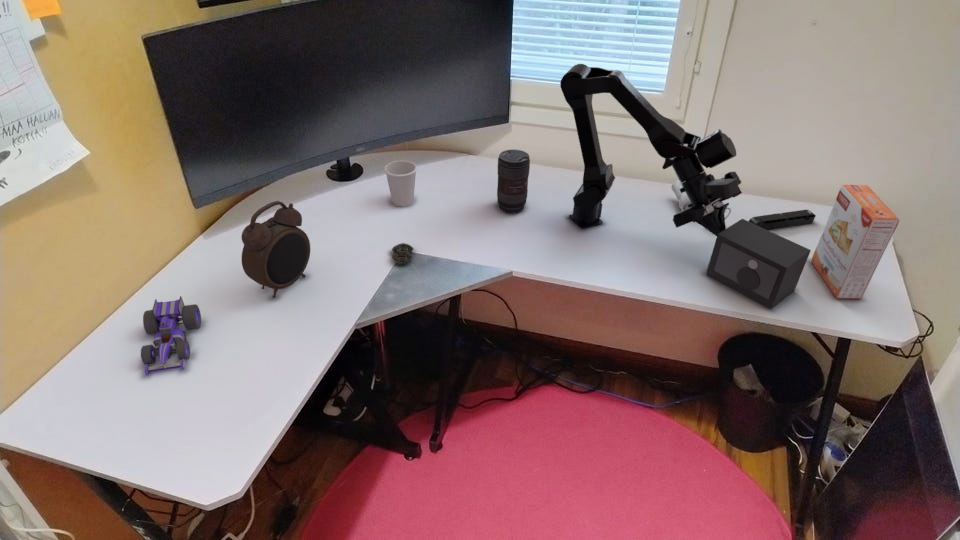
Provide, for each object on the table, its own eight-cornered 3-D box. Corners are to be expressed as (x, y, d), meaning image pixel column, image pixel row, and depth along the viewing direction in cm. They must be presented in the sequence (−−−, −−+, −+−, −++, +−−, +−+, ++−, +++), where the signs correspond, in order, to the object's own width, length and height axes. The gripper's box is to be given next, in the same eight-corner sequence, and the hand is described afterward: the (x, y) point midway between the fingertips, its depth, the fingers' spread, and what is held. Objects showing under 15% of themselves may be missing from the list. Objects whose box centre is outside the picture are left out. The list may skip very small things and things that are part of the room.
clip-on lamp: (732, 234, 159) (700, 188, 171) (744, 216, 155) (710, 170, 166) (693, 236, 156) (663, 189, 167) (703, 218, 151) (672, 171, 163)
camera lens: (532, 204, 164) (536, 153, 155) (517, 218, 159) (520, 165, 150) (506, 196, 168) (508, 145, 159) (490, 209, 162) (492, 157, 153)
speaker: (704, 275, 140) (716, 234, 134) (729, 257, 146) (742, 218, 139) (769, 310, 131) (785, 269, 124) (794, 290, 136) (811, 250, 130)
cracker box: (808, 261, 145) (840, 183, 133) (834, 262, 145) (869, 183, 132) (833, 299, 134) (871, 217, 121) (861, 300, 134) (902, 218, 121)
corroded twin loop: (390, 266, 141) (390, 262, 141) (392, 246, 148) (392, 243, 147) (412, 265, 142) (412, 262, 141) (413, 246, 148) (413, 242, 147)
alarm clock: (272, 308, 129) (252, 228, 117) (248, 296, 132) (226, 217, 120) (320, 273, 139) (307, 196, 127) (297, 262, 142) (282, 186, 130)
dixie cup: (401, 190, 170) (399, 157, 164) (425, 199, 166) (423, 166, 160) (380, 202, 164) (377, 168, 158) (404, 212, 161) (401, 178, 155)
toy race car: (137, 377, 113) (125, 351, 110) (153, 324, 125) (142, 299, 121) (192, 369, 115) (183, 343, 111) (202, 317, 127) (194, 292, 123)
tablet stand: (752, 232, 155) (755, 222, 153) (746, 226, 157) (749, 216, 155) (813, 223, 158) (817, 213, 157) (806, 218, 160) (810, 208, 159)
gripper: (696, 176, 128) (730, 244, 127) (744, 151, 137) (776, 213, 137) (658, 195, 137) (689, 258, 137) (706, 170, 147) (735, 228, 147)
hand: (724, 239), depth 139 cm, fingers closed
